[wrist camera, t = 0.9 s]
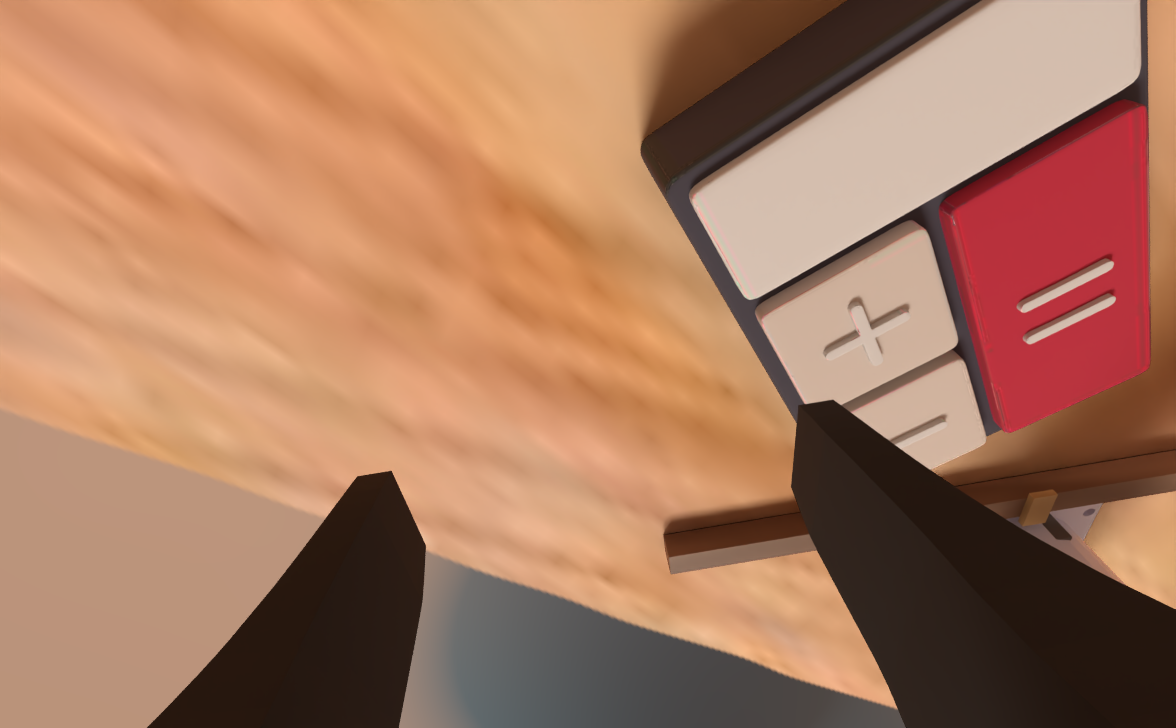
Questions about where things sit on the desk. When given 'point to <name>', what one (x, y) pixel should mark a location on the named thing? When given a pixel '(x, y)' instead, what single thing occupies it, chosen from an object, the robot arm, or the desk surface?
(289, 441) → the desk surface
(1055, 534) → the track
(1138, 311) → the calculator
